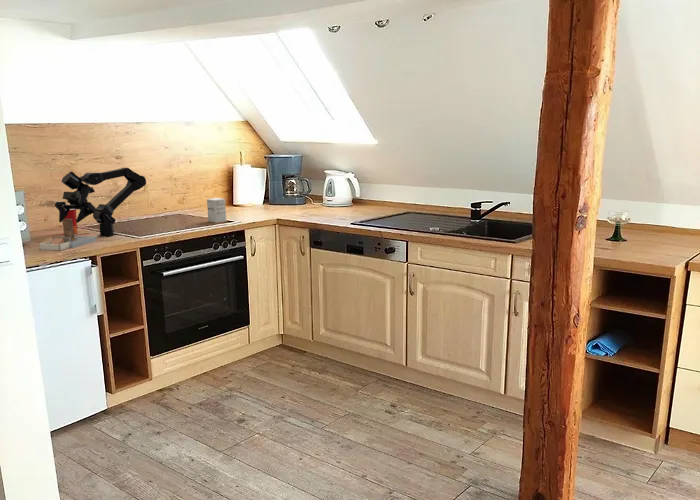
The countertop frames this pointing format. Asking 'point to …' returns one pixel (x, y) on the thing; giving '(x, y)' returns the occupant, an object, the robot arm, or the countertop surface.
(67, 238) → the scraper
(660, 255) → the countertop surface
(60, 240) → the tile
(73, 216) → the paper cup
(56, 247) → the tray
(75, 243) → the board
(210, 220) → the supplement box
